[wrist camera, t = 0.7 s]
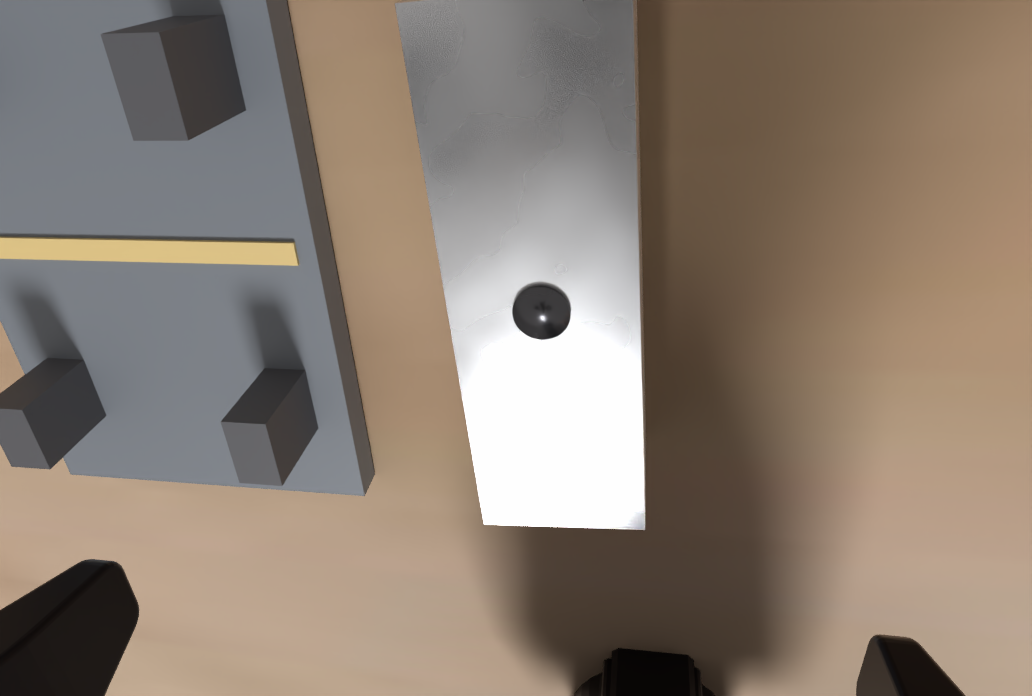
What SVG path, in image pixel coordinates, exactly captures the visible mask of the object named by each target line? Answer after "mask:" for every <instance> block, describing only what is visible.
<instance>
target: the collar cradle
mask: <svg viewBox="0 0 1032 696" xmlns="http://www.w3.org/2000/svg"><path fill="white" fill-rule="evenodd" d="M0 321H1V323H2V325H3V328H4V330H5V332H6V334H7V336H8V339H9V341H10V343H11V345H12V347H13V349H14V352H15V354H16V356H17V358H18V360H19V362H20V365H21V367H22V369H23V371H24V373H25V375H24V376H23V377H21V378H20V379H19V380H17V381H16V382H15V383H14V384H12V385H11V386H10V387H8V388H7V389H6V390H4V391H3V392H2V393H0V444H1V446H2V448H3V450H4V452H5V454H6V456H7V458H8V460H9V462H10V464H11V466H12V467H25V468H39V469H51V468H52V467H53V466H54V465H55V464H56V463H57V462H58V461H59V460H60V459H62V458H64V461H65V463H66V465H67V467H68V469H69V472H70V474H72V475H86V476H99V477H113V478H127V479H140V480H154V481H167V482H181V483H195V484H208V485H222V486H236V487H249V488H263V489H276V490H290V491H304V492H317V493H331V494H345V495H358V496H365V494H366V492H367V490H368V488H369V485H370V483H371V481H372V479H373V477H374V475H375V473H374V468H373V462H372V457H371V451H370V446H369V441H368V435H367V430H366V424H365V419H364V414H363V408H362V403H361V398H360V392H359V387H358V381H357V376H356V371H355V365H354V360H353V355H352V349H351V344H350V338H349V333H348V328H347V322H346V317H345V312H344V306H343V301H342V295H341V290H340V285H339V279H338V274H337V269H336V263H335V258H334V252H333V247H332V242H331V236H330V231H329V226H328V220H327V215H326V209H325V204H324V199H323V193H322V188H321V183H320V177H319V172H318V166H317V161H316V156H315V150H314V145H313V139H312V134H311V129H310V123H309V118H308V113H307V107H306V102H305V96H304V91H303V86H302V80H301V75H300V70H299V64H298V59H297V53H296V48H295V43H294V37H293V32H292V27H291V21H290V16H289V10H288V5H287V0H0Z"/></svg>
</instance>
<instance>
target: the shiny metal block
mask: <svg viewBox="0 0 1032 696" xmlns="http://www.w3.org/2000/svg"><path fill="white" fill-rule="evenodd" d="M395 7H396V13H397V19H398V25H399V31H400V36H401V42H402V48H403V54H404V60H405V66H406V72H407V77H408V83H409V89H410V95H411V101H412V107H413V113H414V118H415V124H416V130H417V136H418V142H419V148H420V154H421V159H422V165H423V171H424V177H425V183H426V189H427V195H428V200H429V206H430V212H431V218H432V224H433V230H434V236H435V241H436V247H437V253H438V259H439V265H440V271H441V277H442V282H443V288H444V294H445V300H446V306H447V312H448V318H449V323H450V329H451V335H452V341H453V347H454V353H455V359H456V364H457V370H458V376H459V382H460V388H461V394H462V400H463V405H464V411H465V417H466V423H467V429H468V435H469V441H470V446H471V452H472V458H473V464H474V470H475V476H476V482H477V487H478V493H479V499H480V505H481V511H482V517H483V522H484V525H514V526H544V527H574V528H604V529H634V530H645V495H646V412H645V364H644V316H643V267H642V219H641V171H640V122H639V74H638V26H637V0H402V1H399V2H397V3H395Z"/></svg>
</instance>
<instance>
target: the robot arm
mask: <svg viewBox="0 0 1032 696" xmlns="http://www.w3.org/2000/svg"><path fill="white" fill-rule="evenodd" d="M138 617H139V605H138V602H137V599H136V597H135V595H134V593H133V590H132V588H131V586H130V583H129V581H128V579H127V577H126V574H125V572H124V570H123V568H122V566H121V565H120V564H118V563H117V562H114V561H105V560H95V559H89V560H84V561H81V562H80V563H78V564H76V565H74V566H73V567H71V568H69V569H68V570H66V571H64V572H63V573H61V574H59V575H58V576H56V577H54V578H53V579H51V580H49V581H48V582H46V583H44V584H43V585H41V586H39V587H38V588H36V589H34V590H33V591H31V592H29V593H28V594H26V595H24V596H23V597H21V598H19V599H18V600H16V601H14V602H13V603H11V604H9V605H8V606H6V607H5V608H3V609H1V610H0V696H105V694H106V691H107V689H108V687H109V685H110V682H111V680H112V678H113V676H114V674H115V671H116V669H117V667H118V665H119V662H120V660H121V658H122V656H123V654H124V651H125V649H126V647H127V645H128V642H129V640H130V638H131V636H132V634H133V631H134V629H135V627H136V624H137V621H138ZM575 696H715V695H714V693H713V692H712V691H710V690H709V689H708V688H706V687H705V686H704V685H702V684H701V672H700V670H699V669H698V668H695V667H694V660H693V659H692V658H691V657H690V656H688V655H682V654H672V653H662V652H653V651H643V650H633V649H623V648H618V649H616V650H614V651H612V658H611V659H606V660H604V663H603V672H602V673H600V674H598V675H596V676H594V677H592V678H590V679H589V680H588V681H586V682H585V683H584V684H582V685H581V687H580V688H579V689H578V690H577V691H576V694H575ZM856 696H965V695H964V693H963V692H962V691H961V690H960V689H959V688H958V687H957V686H956V684H955V683H954V682H953V681H952V680H951V679H950V678H949V677H948V675H947V674H946V673H945V672H944V671H943V670H942V669H941V668H940V666H939V665H938V664H937V663H936V662H935V661H934V660H933V659H932V657H931V656H930V655H929V654H928V653H927V652H926V651H925V650H924V648H923V647H922V646H921V645H920V644H919V643H918V642H916V641H915V640H913V639H911V638H908V637H900V636H889V635H875V636H873V637H872V638H871V639H870V641H869V644H868V647H867V650H866V654H865V657H864V660H863V664H862V667H861V670H860V674H859V677H858V681H857V687H856Z"/></svg>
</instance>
